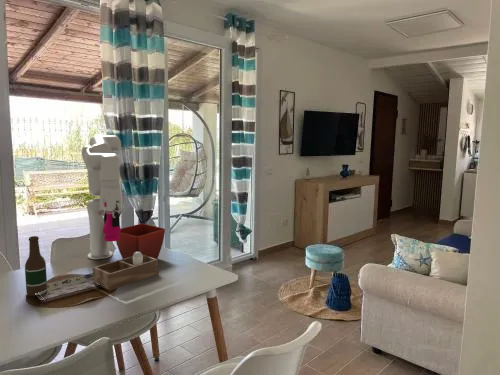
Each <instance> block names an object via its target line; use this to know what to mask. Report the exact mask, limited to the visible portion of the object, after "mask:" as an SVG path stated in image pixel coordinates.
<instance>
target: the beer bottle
mask: <svg viewBox="0 0 500 375" xmlns="http://www.w3.org/2000/svg"><path fill="white" fill-rule="evenodd" d="M39 239H40V238H39V236H37V235H34V236H30V237H28V241H29V243H28V244H29V248H28V249H29V253H28V258H27V259H26V261H25V265H24V275H25V276H24V278H25V288H26V289H25V290H26V291H25V292H26V295H27V296H29V297H32V298H33V297H36V296H35V293H38V292H41V291H44V290H46V289H47V290H48V278H47V264H46V259H45V258H44V257H43V256H42V254H41V251H40V244H39Z"/></svg>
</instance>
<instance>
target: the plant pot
mask: <svg viewBox="0 0 500 375" xmlns="http://www.w3.org/2000/svg"><path fill="white" fill-rule="evenodd" d="M165 234H166V228H164V227H159V226H156V225H155V226H154V225H152V224H146V223H138V224H134V225H129V226H126V227H121V231H120V233H119V235H120V239H119V240H118V241H115V243H116V246H117V249H118V252H119V254H120V255H121V259H124V258H128V257H131V256H133V254H134V253H135V252H141V253H142V254H143V255H146V256H149V257H152V258H155V259H158V258H159V255H160V253H161V250H162V246H163V242H164V239H165Z"/></svg>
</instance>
